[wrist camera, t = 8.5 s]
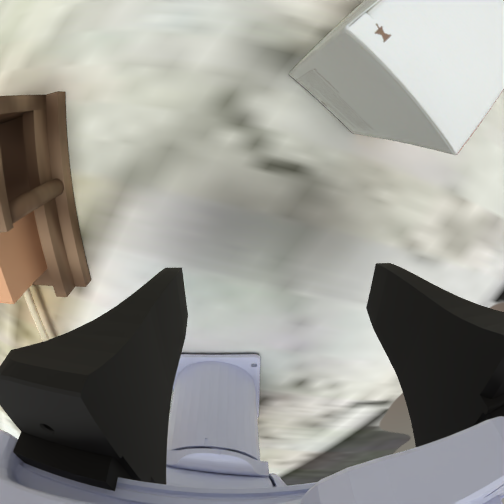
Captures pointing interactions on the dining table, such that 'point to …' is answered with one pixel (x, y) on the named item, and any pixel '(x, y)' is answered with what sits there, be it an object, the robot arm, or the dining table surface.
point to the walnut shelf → (41, 184)
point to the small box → (411, 69)
